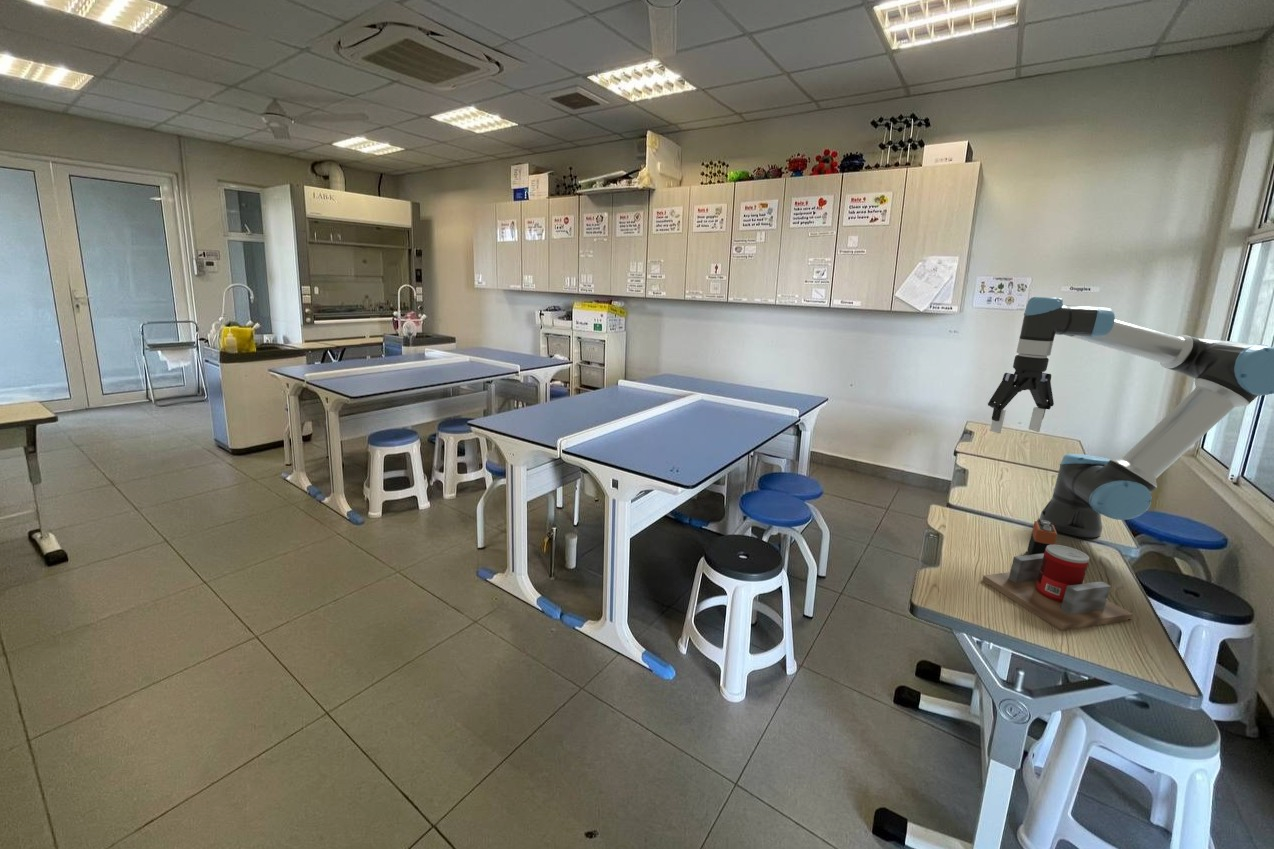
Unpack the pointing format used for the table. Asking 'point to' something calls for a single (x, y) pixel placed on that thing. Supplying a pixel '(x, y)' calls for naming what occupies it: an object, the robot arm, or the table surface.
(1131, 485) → the robot arm
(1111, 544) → the table surface
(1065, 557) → the canned food
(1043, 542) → the battery
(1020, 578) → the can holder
